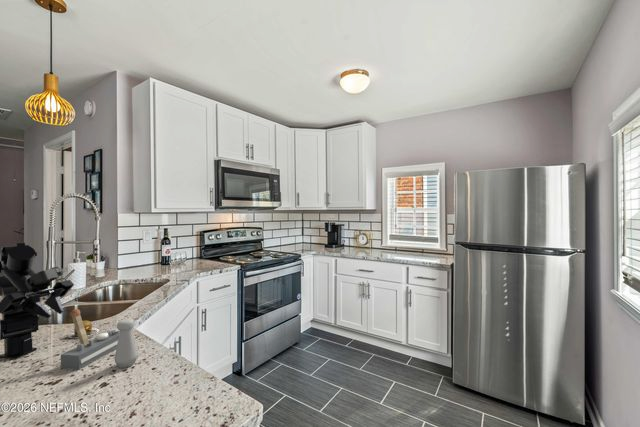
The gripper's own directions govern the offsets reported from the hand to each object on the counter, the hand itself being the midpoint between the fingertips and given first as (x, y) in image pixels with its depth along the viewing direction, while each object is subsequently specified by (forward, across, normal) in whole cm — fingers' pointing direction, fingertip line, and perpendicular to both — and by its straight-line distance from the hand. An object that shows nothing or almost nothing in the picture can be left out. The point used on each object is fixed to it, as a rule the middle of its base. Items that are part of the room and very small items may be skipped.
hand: (55, 314), depth 93 cm
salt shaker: (+27, -1, -8) cm, 28 cm away
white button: (+14, +6, 0) cm, 15 cm away
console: (+17, +4, +2) cm, 17 cm away
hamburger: (+4, +18, +17) cm, 25 cm away
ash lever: (+13, 0, -1) cm, 13 cm away
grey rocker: (+13, +10, -1) cm, 17 cm away
